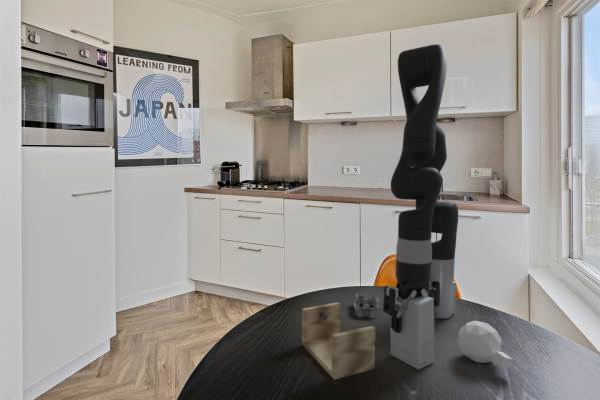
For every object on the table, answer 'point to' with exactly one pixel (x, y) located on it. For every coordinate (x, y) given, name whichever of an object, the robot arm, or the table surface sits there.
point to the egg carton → (366, 306)
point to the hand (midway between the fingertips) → (411, 328)
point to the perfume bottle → (482, 344)
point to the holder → (337, 342)
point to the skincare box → (415, 333)
